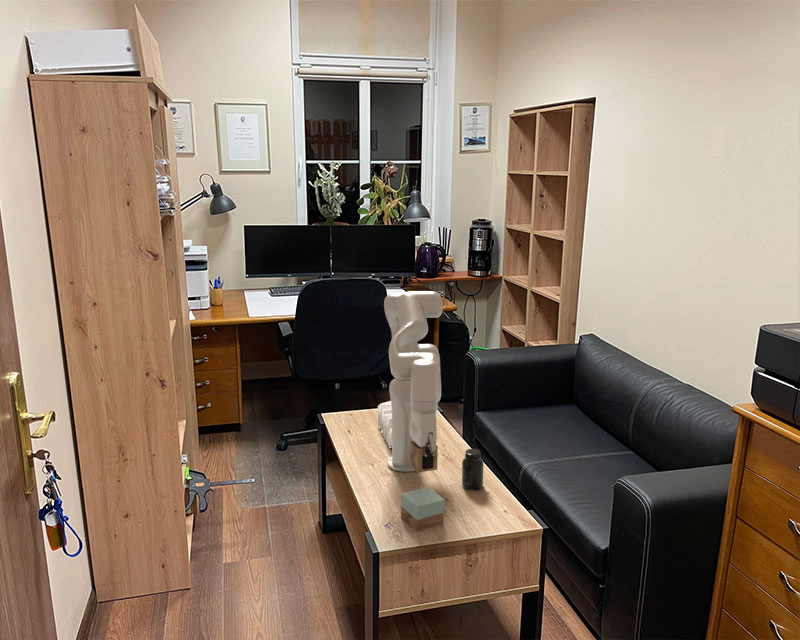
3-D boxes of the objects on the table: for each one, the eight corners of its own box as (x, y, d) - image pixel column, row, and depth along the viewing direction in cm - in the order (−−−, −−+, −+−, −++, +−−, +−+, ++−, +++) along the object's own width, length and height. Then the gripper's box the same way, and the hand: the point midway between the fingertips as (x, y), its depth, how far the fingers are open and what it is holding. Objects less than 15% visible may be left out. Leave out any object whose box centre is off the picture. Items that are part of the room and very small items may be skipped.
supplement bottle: (469, 479, 215) (470, 445, 213) (486, 485, 211) (488, 450, 209) (457, 486, 210) (458, 452, 208) (475, 493, 206) (476, 457, 203)
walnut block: (410, 463, 188) (410, 441, 186) (429, 461, 190) (429, 438, 188) (417, 472, 182) (417, 449, 181) (437, 469, 184) (437, 446, 182)
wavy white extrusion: (375, 420, 267) (375, 396, 264) (415, 418, 269) (415, 394, 267) (388, 456, 233) (388, 428, 231) (433, 453, 236) (434, 425, 233)
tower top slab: (401, 506, 190) (401, 493, 189) (427, 499, 195) (427, 486, 194) (417, 520, 183) (417, 507, 182) (444, 512, 187) (444, 499, 186)
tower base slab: (400, 518, 191) (400, 505, 190) (426, 510, 196) (426, 498, 195) (416, 532, 184) (416, 519, 183) (443, 524, 188) (443, 511, 187)
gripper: (401, 395, 188) (401, 453, 192) (422, 415, 172) (422, 478, 176) (425, 392, 191) (424, 450, 195) (448, 412, 175) (447, 474, 179)
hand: (423, 463), depth 185 cm, fingers closed on walnut block, 6 cm apart
